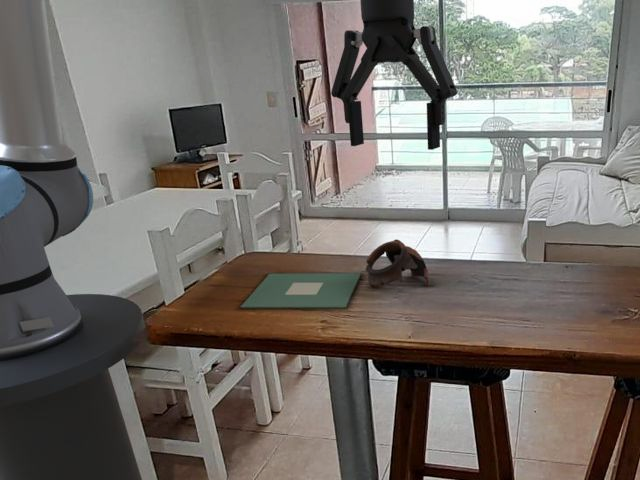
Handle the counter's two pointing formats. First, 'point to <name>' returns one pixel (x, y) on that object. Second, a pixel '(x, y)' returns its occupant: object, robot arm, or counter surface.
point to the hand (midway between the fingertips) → (394, 146)
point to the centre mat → (304, 291)
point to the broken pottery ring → (395, 264)
